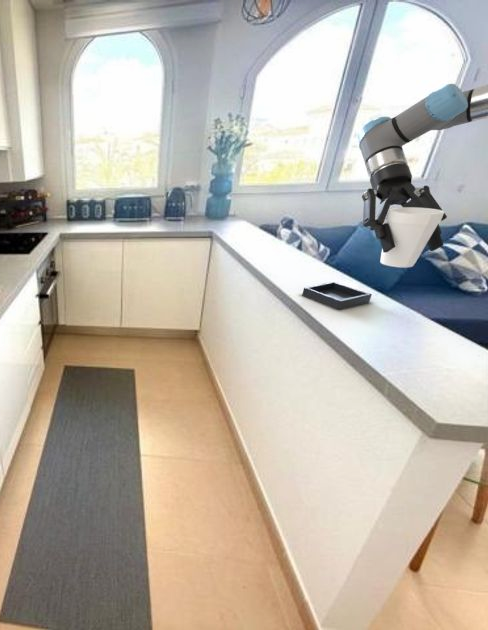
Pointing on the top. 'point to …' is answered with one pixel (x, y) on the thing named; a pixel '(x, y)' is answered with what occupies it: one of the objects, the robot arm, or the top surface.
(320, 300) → the dark grey square tray
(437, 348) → the top surface
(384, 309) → the top surface
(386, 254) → the foam cup
